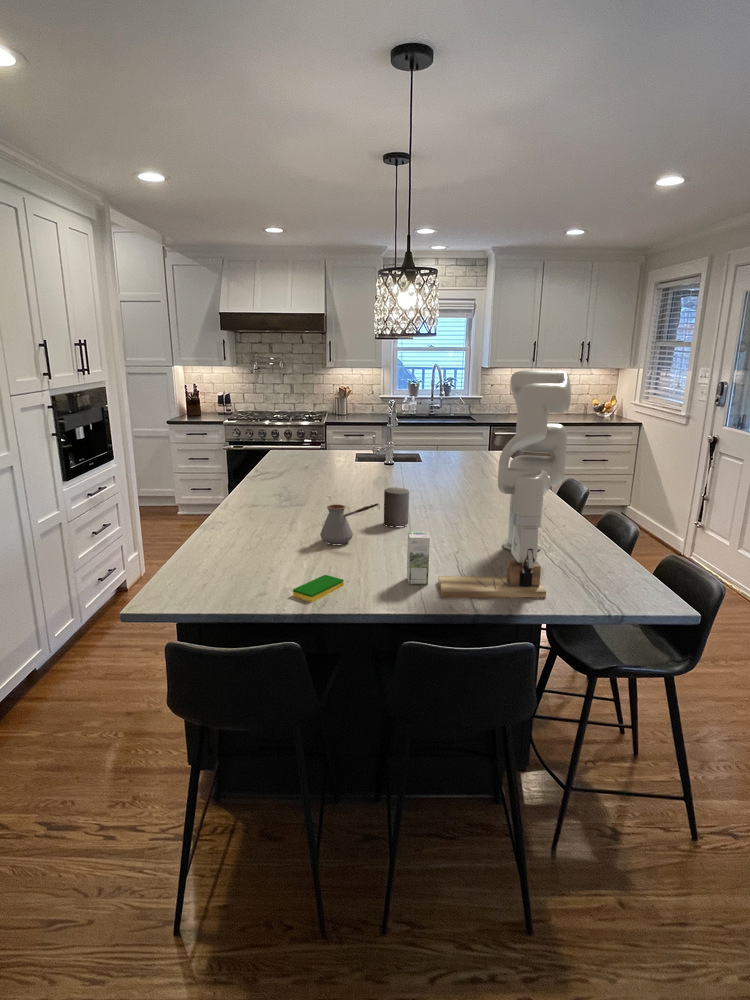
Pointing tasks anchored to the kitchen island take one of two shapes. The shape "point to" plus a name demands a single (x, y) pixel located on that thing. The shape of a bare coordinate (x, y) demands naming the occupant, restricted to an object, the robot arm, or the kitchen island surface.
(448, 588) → the board
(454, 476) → the kitchen island surface
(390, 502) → the pillar candle
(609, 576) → the kitchen island surface
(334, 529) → the coffee pot
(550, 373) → the robot arm
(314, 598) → the dish sponge
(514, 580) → the block
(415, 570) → the syrup box
